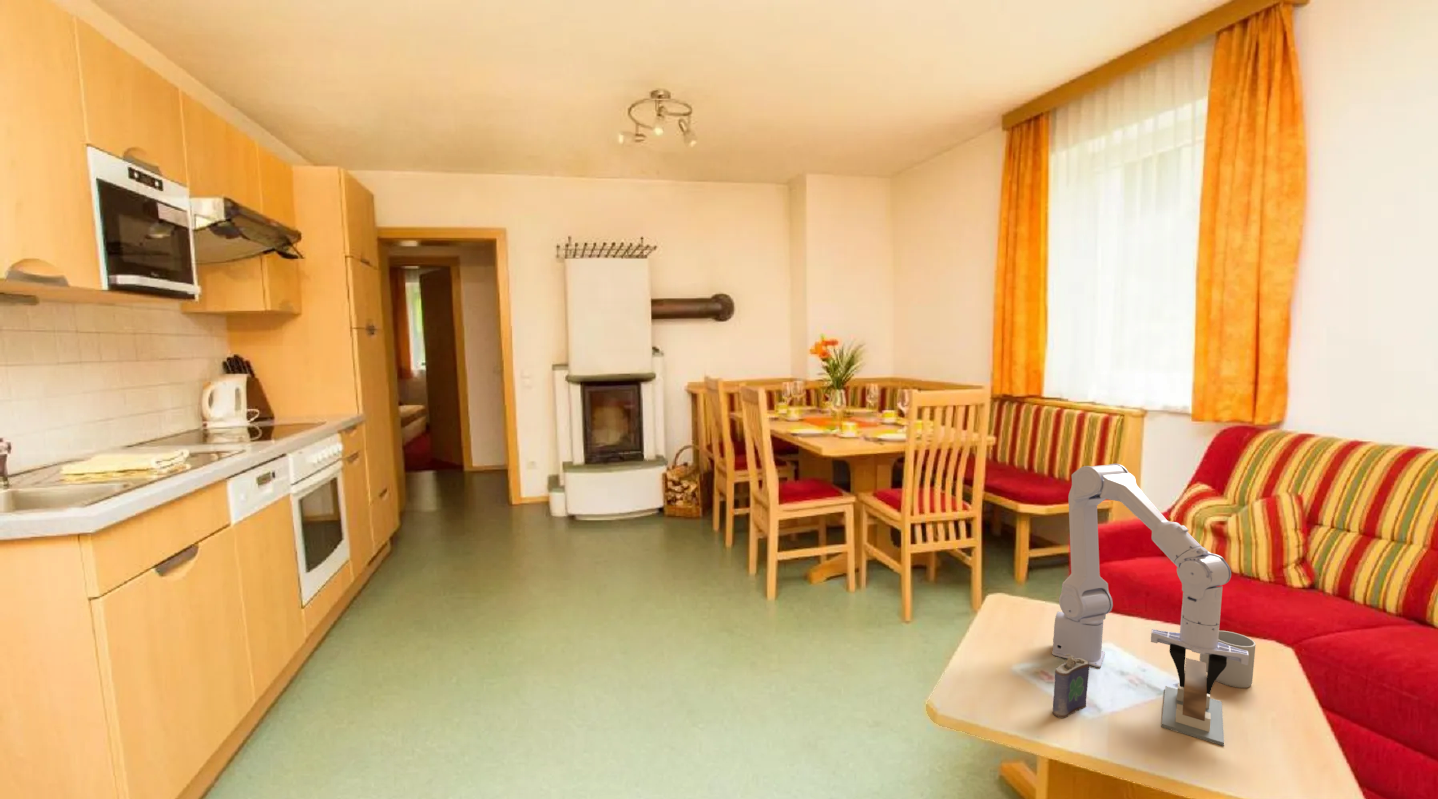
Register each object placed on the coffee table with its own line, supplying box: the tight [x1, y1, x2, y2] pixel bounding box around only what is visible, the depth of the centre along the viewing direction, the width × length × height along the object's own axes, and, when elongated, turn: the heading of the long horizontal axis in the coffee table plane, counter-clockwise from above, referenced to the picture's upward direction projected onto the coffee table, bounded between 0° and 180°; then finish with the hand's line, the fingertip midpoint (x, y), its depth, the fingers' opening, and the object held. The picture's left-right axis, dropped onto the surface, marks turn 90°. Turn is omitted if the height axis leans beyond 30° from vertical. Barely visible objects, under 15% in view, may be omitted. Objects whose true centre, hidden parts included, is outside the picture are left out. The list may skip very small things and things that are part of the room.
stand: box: [1161, 682, 1225, 746], centre depth 120 cm, size 9×16×3 cm, turn 143°
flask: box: [1052, 654, 1090, 719], centre depth 121 cm, size 9×3×11 cm, turn 121°
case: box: [1183, 657, 1207, 721], centre depth 119 cm, size 3×14×5 cm, turn 143°
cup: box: [1199, 630, 1257, 689], centre depth 132 cm, size 7×10×9 cm
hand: (1194, 688), depth 119 cm, fingers closed on case, 3 cm apart
